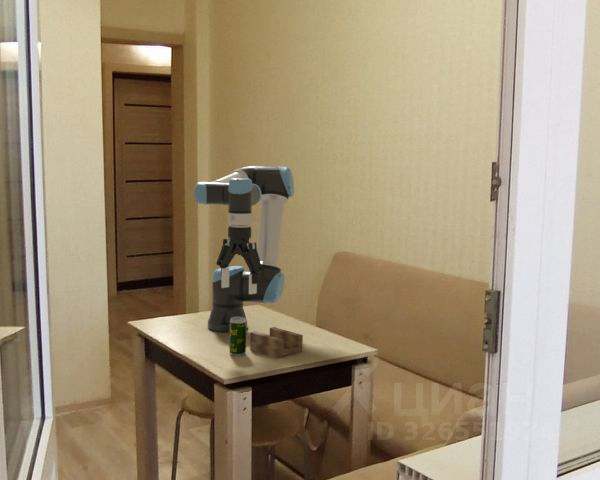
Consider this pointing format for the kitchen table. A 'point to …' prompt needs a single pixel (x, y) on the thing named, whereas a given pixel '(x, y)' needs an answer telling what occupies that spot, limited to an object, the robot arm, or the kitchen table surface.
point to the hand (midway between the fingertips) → (238, 290)
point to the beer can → (237, 336)
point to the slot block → (276, 343)
